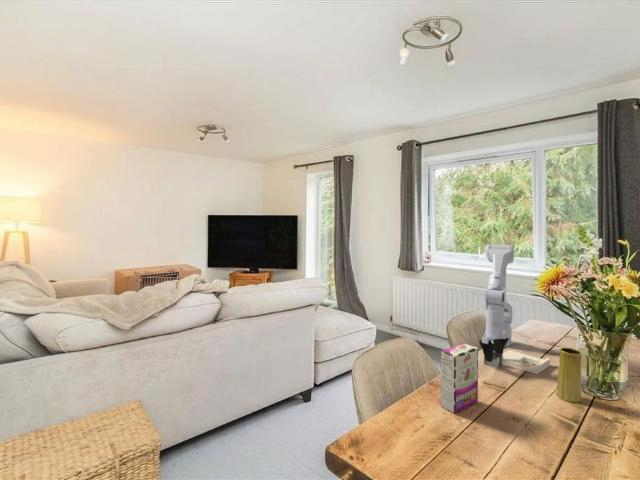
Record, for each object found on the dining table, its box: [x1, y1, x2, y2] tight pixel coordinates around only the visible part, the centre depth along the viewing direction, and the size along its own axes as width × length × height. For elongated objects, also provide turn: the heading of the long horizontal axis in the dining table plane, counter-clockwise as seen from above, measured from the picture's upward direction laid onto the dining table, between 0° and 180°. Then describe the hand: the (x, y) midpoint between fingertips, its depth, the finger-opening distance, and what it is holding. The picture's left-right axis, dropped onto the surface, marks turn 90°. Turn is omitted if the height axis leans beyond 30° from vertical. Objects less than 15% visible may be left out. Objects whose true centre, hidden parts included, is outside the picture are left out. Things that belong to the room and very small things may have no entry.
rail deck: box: [502, 349, 551, 375], centre depth 127 cm, size 12×14×2 cm
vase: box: [556, 347, 582, 403], centre depth 102 cm, size 6×6×14 cm
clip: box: [483, 352, 504, 369], centre depth 125 cm, size 4×5×5 cm
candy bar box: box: [440, 343, 479, 415], centre depth 97 cm, size 11×5×16 cm, turn 123°
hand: (493, 358), depth 125 cm, fingers open, 7 cm apart
